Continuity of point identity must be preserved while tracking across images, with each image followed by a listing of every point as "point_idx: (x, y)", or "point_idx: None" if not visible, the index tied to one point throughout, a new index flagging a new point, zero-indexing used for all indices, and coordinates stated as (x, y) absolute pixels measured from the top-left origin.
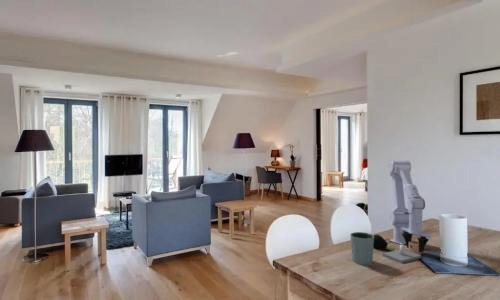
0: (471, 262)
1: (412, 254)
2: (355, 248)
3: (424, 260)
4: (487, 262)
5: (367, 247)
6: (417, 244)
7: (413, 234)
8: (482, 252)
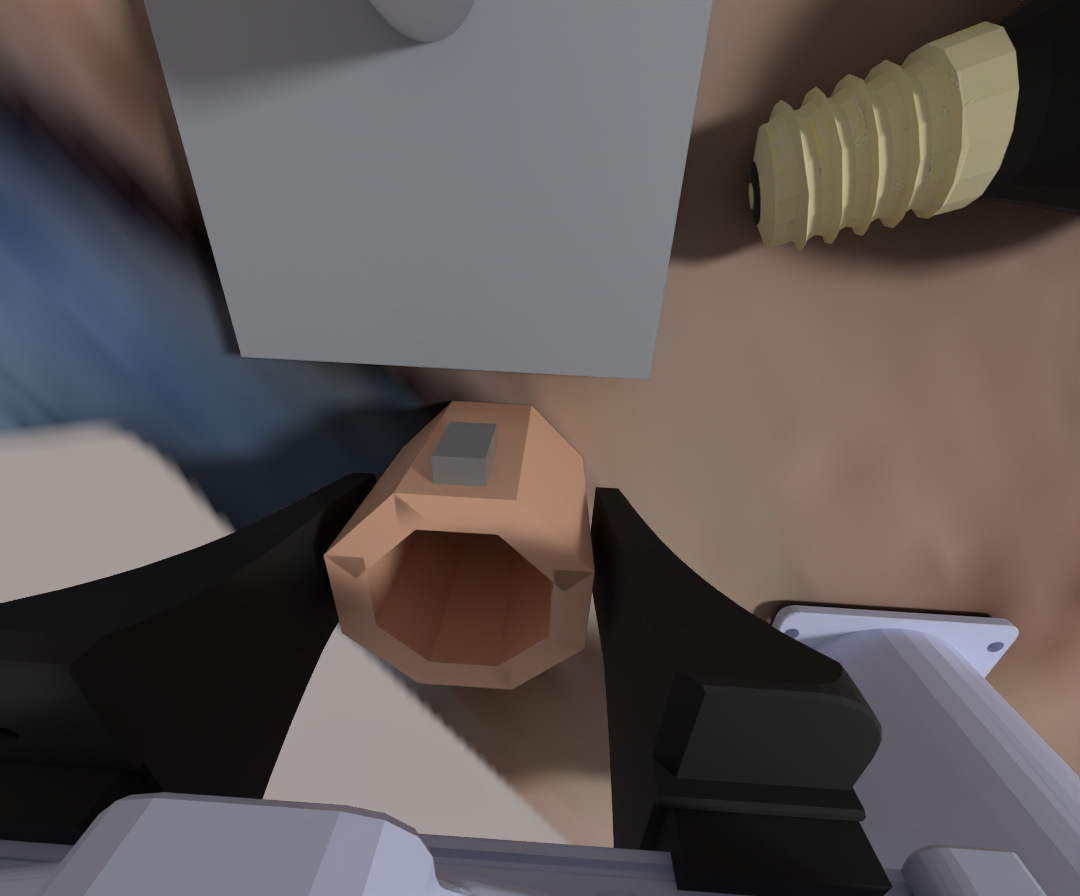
0: None
1: (328, 242)
2: None
3: (156, 278)
4: None
5: None
6: (348, 548)
7: (451, 840)
8: None
